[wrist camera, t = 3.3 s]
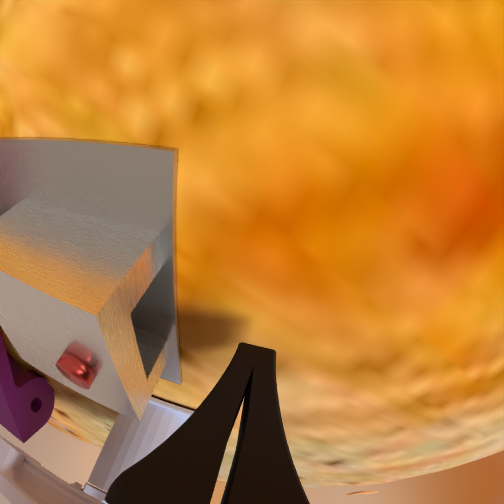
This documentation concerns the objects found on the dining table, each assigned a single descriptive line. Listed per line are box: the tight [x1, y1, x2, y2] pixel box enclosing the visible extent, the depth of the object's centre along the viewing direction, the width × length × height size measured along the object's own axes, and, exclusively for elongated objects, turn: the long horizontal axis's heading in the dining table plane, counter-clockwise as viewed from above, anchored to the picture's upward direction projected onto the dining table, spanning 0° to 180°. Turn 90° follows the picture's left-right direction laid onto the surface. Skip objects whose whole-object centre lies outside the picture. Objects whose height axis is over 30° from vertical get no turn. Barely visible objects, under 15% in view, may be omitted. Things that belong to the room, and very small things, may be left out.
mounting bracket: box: [0, 331, 55, 443], centre depth 25 cm, size 10×8×18 cm
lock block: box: [0, 200, 170, 421], centre depth 11 cm, size 8×8×5 cm
